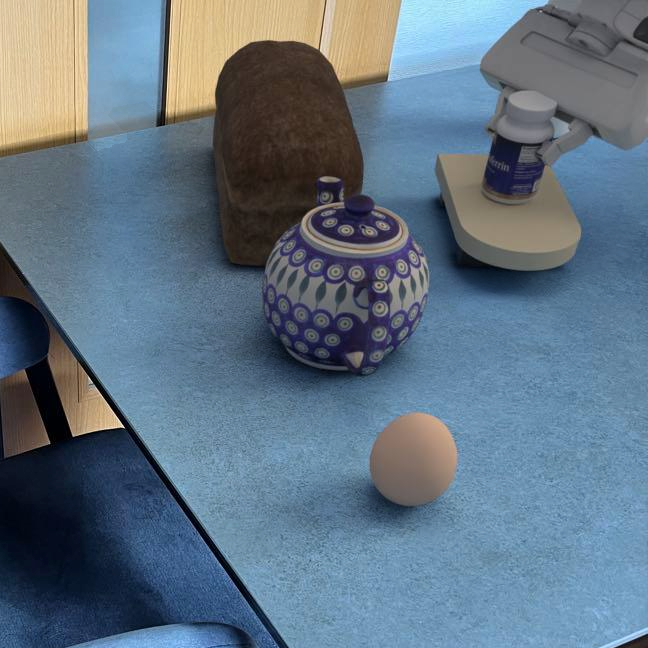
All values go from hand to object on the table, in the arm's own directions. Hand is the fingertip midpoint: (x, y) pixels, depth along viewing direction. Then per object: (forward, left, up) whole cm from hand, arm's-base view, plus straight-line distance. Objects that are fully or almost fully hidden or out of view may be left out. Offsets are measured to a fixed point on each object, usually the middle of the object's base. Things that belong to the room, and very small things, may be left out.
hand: (515, 148), depth 106 cm
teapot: (+18, +21, -10) cm, 30 cm away
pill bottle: (-1, 0, -5) cm, 5 cm away
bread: (+23, -7, -10) cm, 26 cm away
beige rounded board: (-1, 0, -10) cm, 10 cm away
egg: (+14, +43, -10) cm, 47 cm away
